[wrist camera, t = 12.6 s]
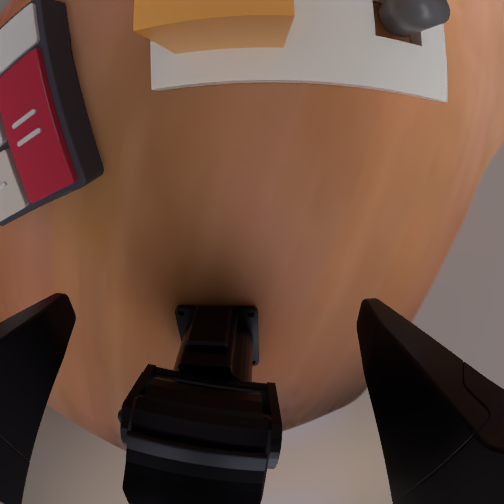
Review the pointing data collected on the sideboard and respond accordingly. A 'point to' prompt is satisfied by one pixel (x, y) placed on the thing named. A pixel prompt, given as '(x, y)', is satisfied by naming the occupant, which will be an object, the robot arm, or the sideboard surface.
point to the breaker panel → (319, 56)
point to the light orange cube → (213, 23)
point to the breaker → (412, 15)
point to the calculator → (41, 113)
